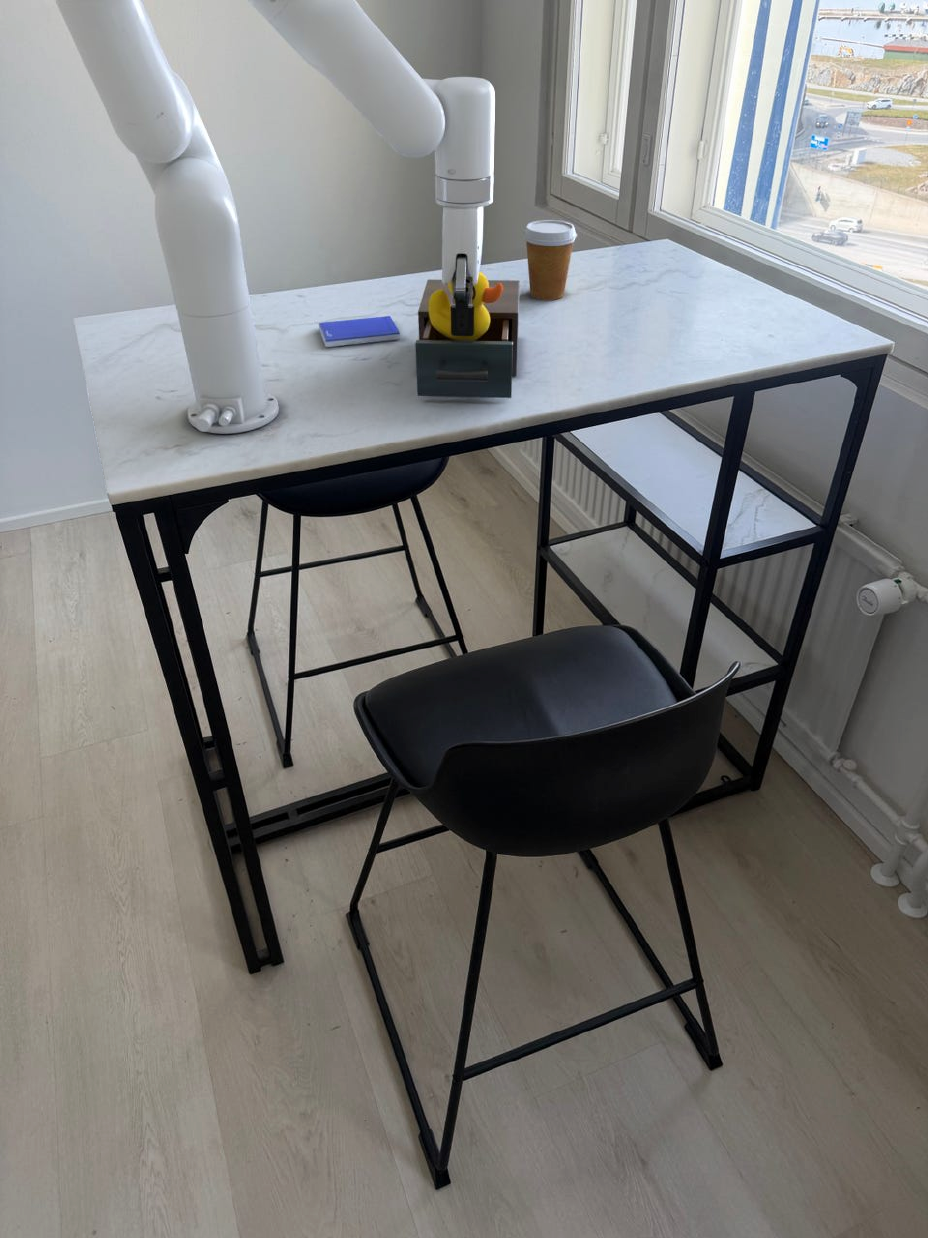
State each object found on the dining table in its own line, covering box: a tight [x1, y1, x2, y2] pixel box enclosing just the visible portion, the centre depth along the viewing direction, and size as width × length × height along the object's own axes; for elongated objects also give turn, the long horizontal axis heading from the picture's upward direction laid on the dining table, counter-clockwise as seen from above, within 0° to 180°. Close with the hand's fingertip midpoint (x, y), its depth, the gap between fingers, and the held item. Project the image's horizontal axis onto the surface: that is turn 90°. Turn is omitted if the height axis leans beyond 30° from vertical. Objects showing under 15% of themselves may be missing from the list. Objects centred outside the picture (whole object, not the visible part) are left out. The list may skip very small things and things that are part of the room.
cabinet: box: [417, 279, 521, 378], centre depth 136 cm, size 15×15×10 cm
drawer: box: [414, 318, 513, 399], centre depth 126 cm, size 19×14×8 cm
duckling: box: [429, 271, 503, 341], centre depth 122 cm, size 11×5×10 cm, turn 62°
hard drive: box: [318, 315, 401, 348], centre depth 146 cm, size 2×8×12 cm
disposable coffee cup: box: [523, 219, 578, 301], centre depth 158 cm, size 10×10×12 cm
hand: (463, 325), depth 124 cm, fingers closed on duckling, 5 cm apart
